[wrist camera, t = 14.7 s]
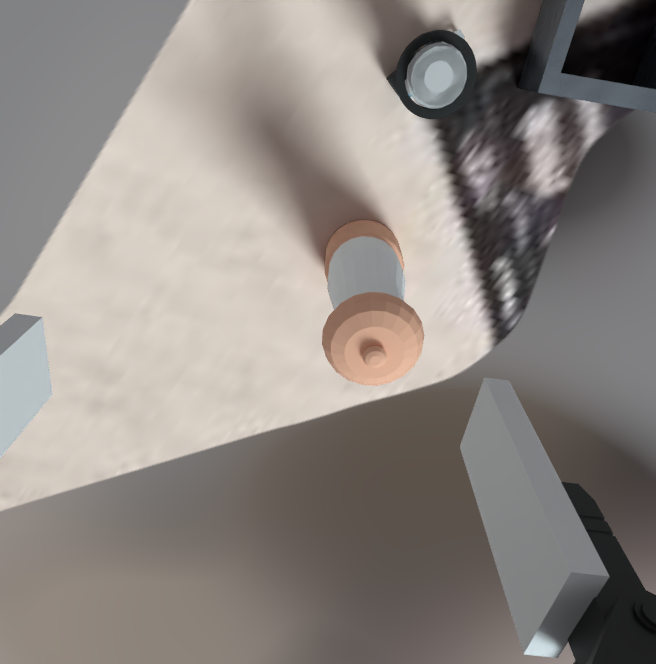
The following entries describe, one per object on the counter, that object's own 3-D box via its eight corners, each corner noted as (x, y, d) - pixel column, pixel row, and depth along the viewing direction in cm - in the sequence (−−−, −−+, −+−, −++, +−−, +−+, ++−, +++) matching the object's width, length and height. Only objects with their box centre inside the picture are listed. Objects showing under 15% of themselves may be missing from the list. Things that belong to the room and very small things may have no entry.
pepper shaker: (367, 203, 48) (383, 287, 31) (415, 259, 50) (454, 365, 34) (309, 253, 50) (295, 356, 33) (358, 303, 53) (368, 423, 36)
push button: (440, 4, 40) (468, -8, 31) (477, 63, 42) (513, 67, 33) (372, 66, 42) (381, 71, 34) (410, 119, 44) (428, 138, 36)
